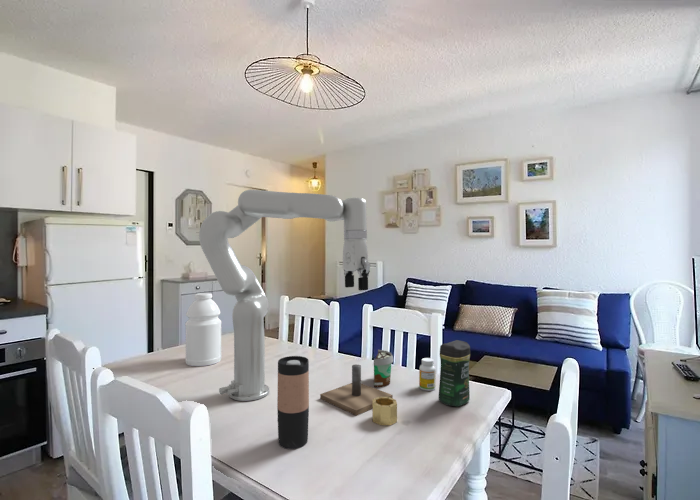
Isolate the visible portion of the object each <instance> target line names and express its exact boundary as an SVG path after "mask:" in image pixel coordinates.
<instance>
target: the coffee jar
mask: <svg viewBox="0 0 700 500" xmlns="http://www.w3.org/2000/svg"><path fill="white" fill-rule="evenodd" d="M470 358H471V346H470V344H469V343H468V342H466V341H463V340H458V339H455V340H453V341H450V342H447V343H442V344H440V347H439V359H440V360H439V361H440V368H439V369H440V373H439V384H438V385H439V386H438V400H439V401H440V402H441V403H442V404H443V405H446V406H448V407H449V406H452V407H460V406H463V405H465V404H467V403H468V402H469V401H470V400H471V399H470V367H469V366H470Z"/></svg>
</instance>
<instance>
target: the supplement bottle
mask: <svg viewBox="0 0 700 500" xmlns="http://www.w3.org/2000/svg"><path fill="white" fill-rule="evenodd" d="M434 360H435V359H433V358H431V357H424V358H422V359H421V364H420V365H419V370H418V371H419V373H418V374H419V377H418V379H419V380H418V382H419V383H418V384H419V389H421V390H423V391H428V392H429V391H430V392H431V391H434V390H435V389H436V386H437V385H436V378H437V377H436V374H437V373H436V372H437V369H436V365H435V366H434V363H435V361H434Z"/></svg>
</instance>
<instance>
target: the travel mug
mask: <svg viewBox="0 0 700 500" xmlns="http://www.w3.org/2000/svg"><path fill="white" fill-rule="evenodd" d="M309 363H310V361H309V359H308V357H305V356H300V355H291V356H285V357H284V356H283V357H281V358H279V359H278V361H277V398H276V399H277V406H276V407H277V411H276V412H277V436H278V437H277V439H278V445H279V446H280V447H281V448H283V449H288V450H296V449H300V448H302V447H304V446H306V444H308V439H309V438H308V437H309V417H310V416H309V414H310V413H309V412H310V392H309V391H310V389H309V388H310V385H309V384H310V381H309V380H310V379H309V378H310V377H309V374H310V370H309V369H310V368H309V366H310V365H309Z"/></svg>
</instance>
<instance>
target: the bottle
mask: <svg viewBox="0 0 700 500" xmlns="http://www.w3.org/2000/svg"><path fill="white" fill-rule="evenodd" d="M212 298H213V293H211V292H198V293H195V294H194V299H195V300H194V301H193V302H192V303H191V304H190V305H189V307H188V308H187V311H186V313H185V316H186V317H187V318H188V320H187V321H186V322H185V324H184V325H185V364H186V365H187V366H191V367H206V366H211V365H214V364H217V363H219V362H220V361H221V360H222V356H223V355H222V320H221V319H220V318H219V316H220V315H221V310H220V307H219V306H218V304H217V303H216V301H214V299H212Z"/></svg>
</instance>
